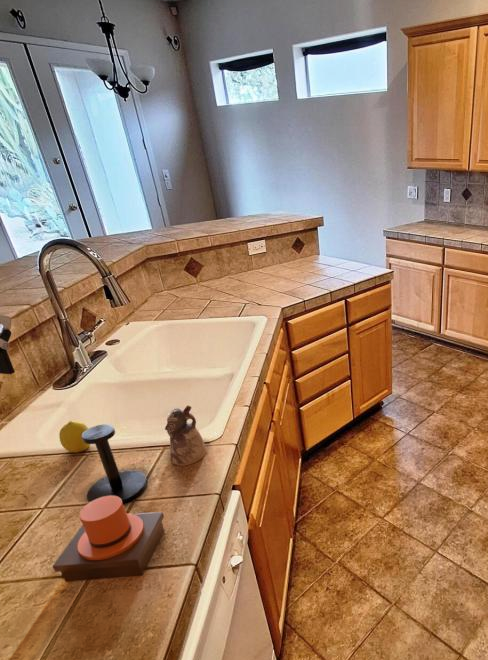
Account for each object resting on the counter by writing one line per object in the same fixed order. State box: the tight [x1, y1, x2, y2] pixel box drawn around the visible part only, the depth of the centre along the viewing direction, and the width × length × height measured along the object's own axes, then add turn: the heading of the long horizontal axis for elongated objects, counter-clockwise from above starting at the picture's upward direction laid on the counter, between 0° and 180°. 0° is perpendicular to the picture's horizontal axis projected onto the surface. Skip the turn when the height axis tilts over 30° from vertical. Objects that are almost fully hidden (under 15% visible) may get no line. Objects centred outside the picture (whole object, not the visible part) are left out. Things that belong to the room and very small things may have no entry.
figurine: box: [164, 405, 206, 467], centre depth 92 cm, size 7×7×12 cm
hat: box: [77, 496, 144, 560], centre depth 67 cm, size 9×9×6 cm
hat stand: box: [82, 423, 149, 506], centre depth 81 cm, size 10×10×14 cm
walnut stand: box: [52, 511, 165, 583], centre depth 70 cm, size 12×10×4 cm
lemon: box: [58, 420, 91, 453], centre depth 93 cm, size 6×6×8 cm
